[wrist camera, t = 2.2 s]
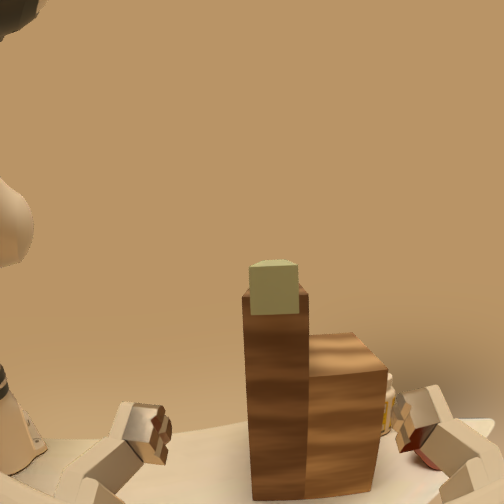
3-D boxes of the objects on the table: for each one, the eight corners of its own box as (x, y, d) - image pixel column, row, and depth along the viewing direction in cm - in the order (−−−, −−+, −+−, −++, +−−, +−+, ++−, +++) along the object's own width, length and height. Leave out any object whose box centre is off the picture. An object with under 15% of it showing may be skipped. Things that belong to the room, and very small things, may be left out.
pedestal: (370, 491, 27) (391, 289, 28) (252, 500, 28) (241, 297, 29) (346, 430, 43) (352, 277, 43) (259, 435, 44) (253, 282, 44)
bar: (299, 313, 19) (297, 264, 19) (250, 315, 19) (248, 266, 19) (286, 281, 43) (285, 259, 43) (264, 282, 43) (263, 260, 43)
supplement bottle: (376, 418, 46) (381, 367, 46) (397, 429, 40) (404, 375, 41) (351, 428, 44) (355, 375, 44) (372, 441, 39) (379, 386, 39)
